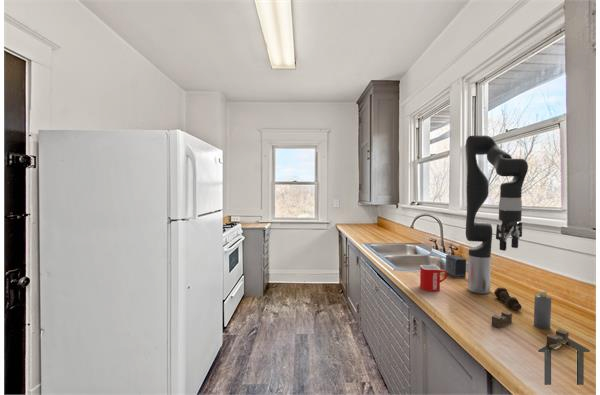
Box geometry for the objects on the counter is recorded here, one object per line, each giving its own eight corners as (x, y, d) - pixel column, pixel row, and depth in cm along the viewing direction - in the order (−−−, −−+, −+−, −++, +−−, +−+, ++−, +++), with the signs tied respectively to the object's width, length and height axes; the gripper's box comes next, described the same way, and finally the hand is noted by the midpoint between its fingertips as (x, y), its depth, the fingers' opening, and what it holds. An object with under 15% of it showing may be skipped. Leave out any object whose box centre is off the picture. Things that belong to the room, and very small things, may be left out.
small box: (466, 278, 170) (467, 259, 170) (455, 278, 170) (455, 259, 169) (455, 272, 181) (456, 254, 180) (444, 272, 180) (445, 254, 180)
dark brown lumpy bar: (515, 316, 127) (498, 300, 141) (527, 310, 126) (509, 296, 140) (508, 303, 127) (492, 289, 141) (520, 298, 126) (502, 285, 140)
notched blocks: (504, 319, 119) (504, 310, 119) (568, 342, 102) (568, 332, 102) (491, 325, 114) (491, 316, 114) (555, 350, 97) (556, 339, 97)
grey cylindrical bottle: (537, 322, 117) (538, 288, 116) (552, 327, 112) (554, 292, 112) (531, 325, 114) (532, 290, 114) (546, 330, 110) (548, 294, 109)
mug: (423, 291, 150) (424, 269, 150) (418, 285, 158) (419, 264, 158) (449, 291, 149) (449, 270, 148) (443, 286, 157) (443, 265, 157)
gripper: (509, 207, 130) (508, 245, 131) (490, 209, 124) (488, 249, 125) (530, 208, 124) (528, 248, 125) (510, 210, 117) (508, 253, 118)
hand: (508, 249), depth 125 cm, fingers open, 8 cm apart
